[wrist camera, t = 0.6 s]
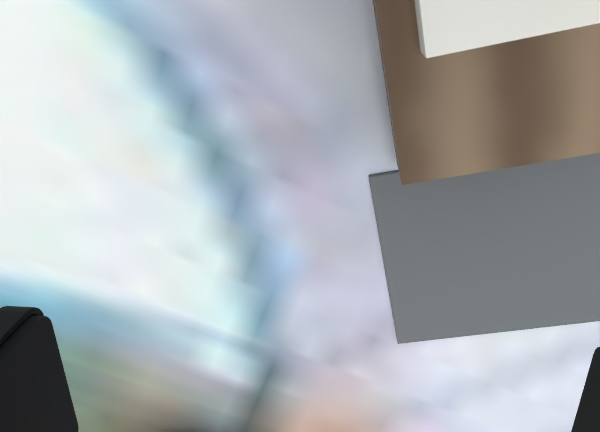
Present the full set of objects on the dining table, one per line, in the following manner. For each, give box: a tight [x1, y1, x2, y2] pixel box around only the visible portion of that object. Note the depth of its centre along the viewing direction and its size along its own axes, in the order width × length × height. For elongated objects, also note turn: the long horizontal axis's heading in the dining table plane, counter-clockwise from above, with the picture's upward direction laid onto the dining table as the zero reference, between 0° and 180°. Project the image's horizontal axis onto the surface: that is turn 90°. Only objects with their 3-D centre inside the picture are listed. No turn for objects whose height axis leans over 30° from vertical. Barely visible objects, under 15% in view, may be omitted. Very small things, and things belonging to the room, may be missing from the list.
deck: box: [373, 0, 600, 185], centre depth 29 cm, size 14×16×4 cm
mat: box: [369, 153, 600, 344], centre depth 37 cm, size 18×14×1 cm
